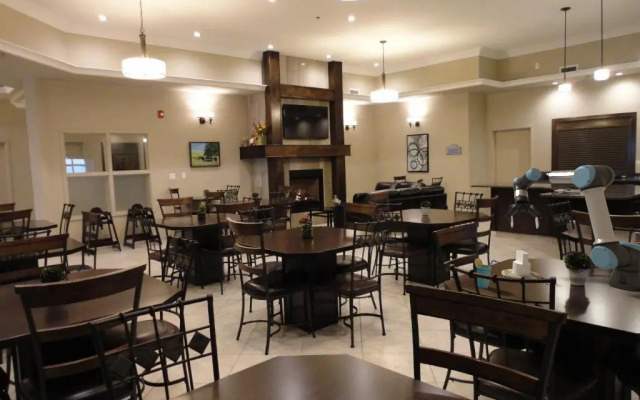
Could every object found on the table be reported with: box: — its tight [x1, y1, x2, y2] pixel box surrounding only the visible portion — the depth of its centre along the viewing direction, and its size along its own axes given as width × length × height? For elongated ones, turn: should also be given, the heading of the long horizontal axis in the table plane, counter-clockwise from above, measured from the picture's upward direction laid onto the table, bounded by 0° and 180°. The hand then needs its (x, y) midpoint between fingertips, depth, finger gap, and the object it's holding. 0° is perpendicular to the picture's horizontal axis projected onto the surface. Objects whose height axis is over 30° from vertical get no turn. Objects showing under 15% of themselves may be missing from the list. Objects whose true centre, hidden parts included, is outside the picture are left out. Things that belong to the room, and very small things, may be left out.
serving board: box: [501, 268, 542, 280], centre depth 244 cm, size 20×20×2 cm
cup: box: [474, 257, 501, 289], centre depth 222 cm, size 14×8×15 cm, turn 41°
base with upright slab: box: [512, 249, 532, 275], centre depth 243 cm, size 9×9×12 cm
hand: (524, 226), depth 256 cm, fingers open, 13 cm apart
